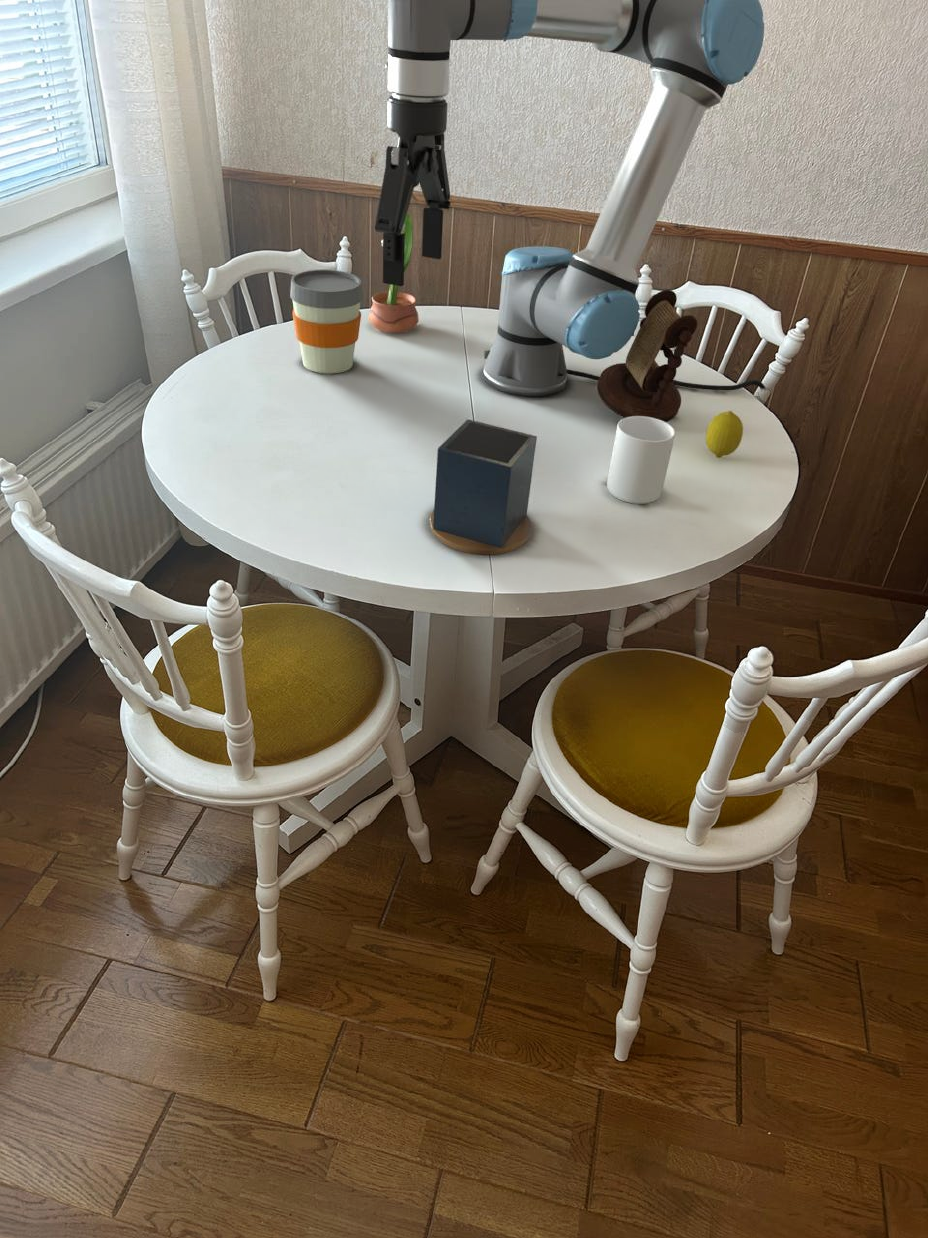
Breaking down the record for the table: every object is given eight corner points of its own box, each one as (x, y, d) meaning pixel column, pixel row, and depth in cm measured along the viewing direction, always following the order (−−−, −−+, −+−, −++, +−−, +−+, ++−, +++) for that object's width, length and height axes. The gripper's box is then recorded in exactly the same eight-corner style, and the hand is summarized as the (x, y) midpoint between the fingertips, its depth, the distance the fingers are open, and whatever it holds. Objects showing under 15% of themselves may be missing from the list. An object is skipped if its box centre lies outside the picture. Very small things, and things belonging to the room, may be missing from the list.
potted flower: (409, 342, 179) (413, 205, 164) (359, 335, 181) (359, 198, 165) (423, 322, 189) (429, 191, 174) (376, 315, 190) (377, 184, 175)
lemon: (737, 453, 151) (749, 408, 146) (733, 468, 147) (746, 421, 142) (703, 446, 152) (714, 401, 147) (698, 460, 148) (710, 414, 143)
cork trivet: (510, 496, 134) (511, 491, 134) (545, 548, 124) (546, 543, 123) (418, 505, 130) (418, 500, 130) (446, 559, 120) (446, 554, 119)
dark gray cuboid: (437, 448, 117) (511, 467, 114) (467, 418, 124) (537, 435, 122) (432, 528, 124) (501, 548, 122) (461, 496, 132) (526, 514, 129)
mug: (588, 468, 143) (599, 406, 137) (637, 464, 145) (649, 403, 139) (619, 507, 134) (631, 443, 128) (670, 503, 136) (685, 439, 130)
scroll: (580, 378, 161) (616, 277, 146) (650, 370, 167) (692, 272, 151) (618, 436, 154) (660, 336, 138) (691, 425, 159) (739, 327, 144)
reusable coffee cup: (278, 364, 166) (274, 280, 157) (322, 345, 175) (320, 264, 166) (333, 383, 161) (332, 297, 152) (376, 362, 170) (377, 280, 161)
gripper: (427, 80, 125) (422, 243, 138) (346, 106, 106) (349, 291, 119) (479, 87, 123) (469, 251, 136) (405, 114, 105) (402, 301, 118)
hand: (413, 270), depth 128 cm, fingers open, 13 cm apart
